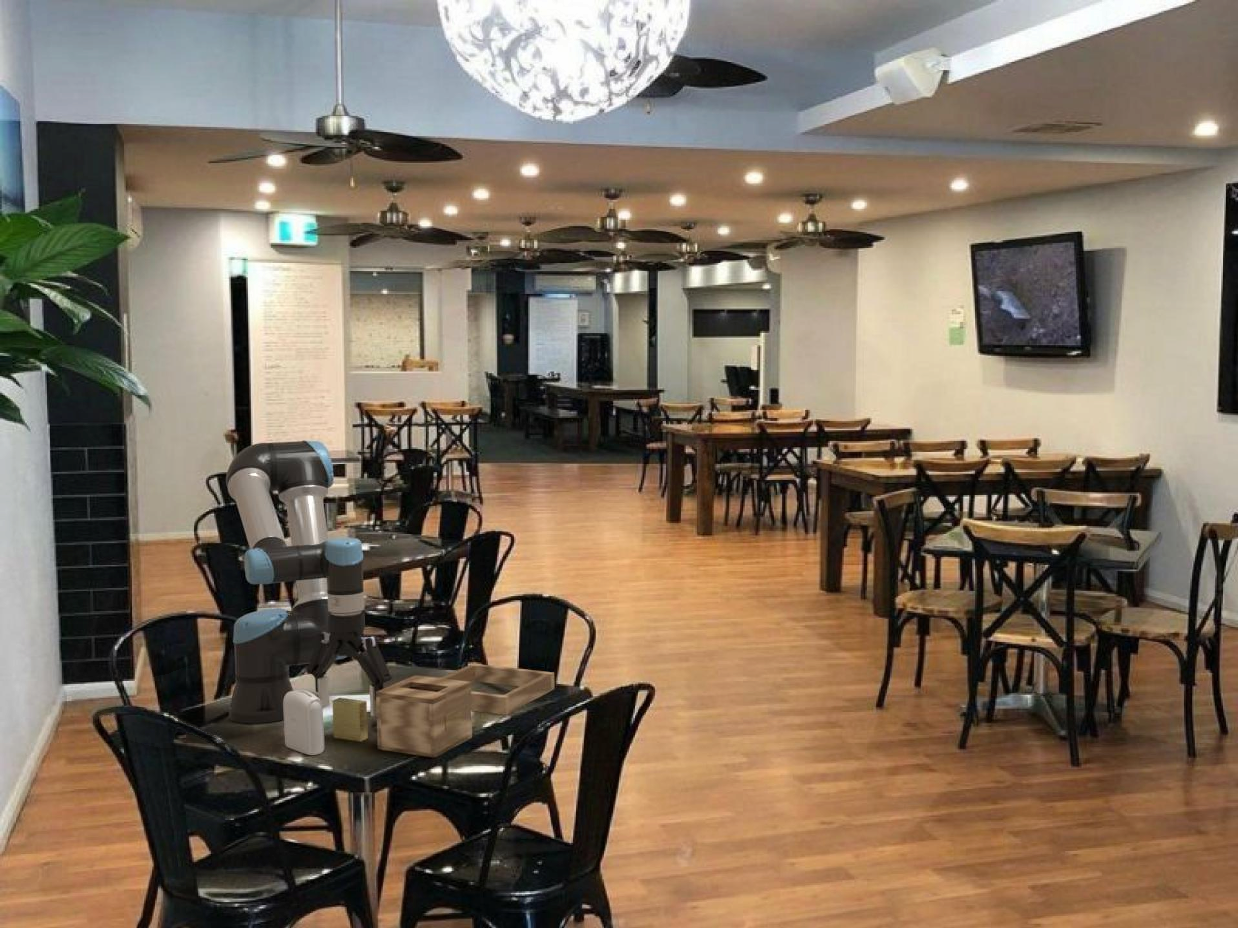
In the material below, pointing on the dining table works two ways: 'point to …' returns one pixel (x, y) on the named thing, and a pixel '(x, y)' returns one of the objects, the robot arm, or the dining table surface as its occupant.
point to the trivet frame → (526, 680)
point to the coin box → (424, 715)
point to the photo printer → (303, 722)
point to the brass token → (350, 719)
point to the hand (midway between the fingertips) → (349, 710)
